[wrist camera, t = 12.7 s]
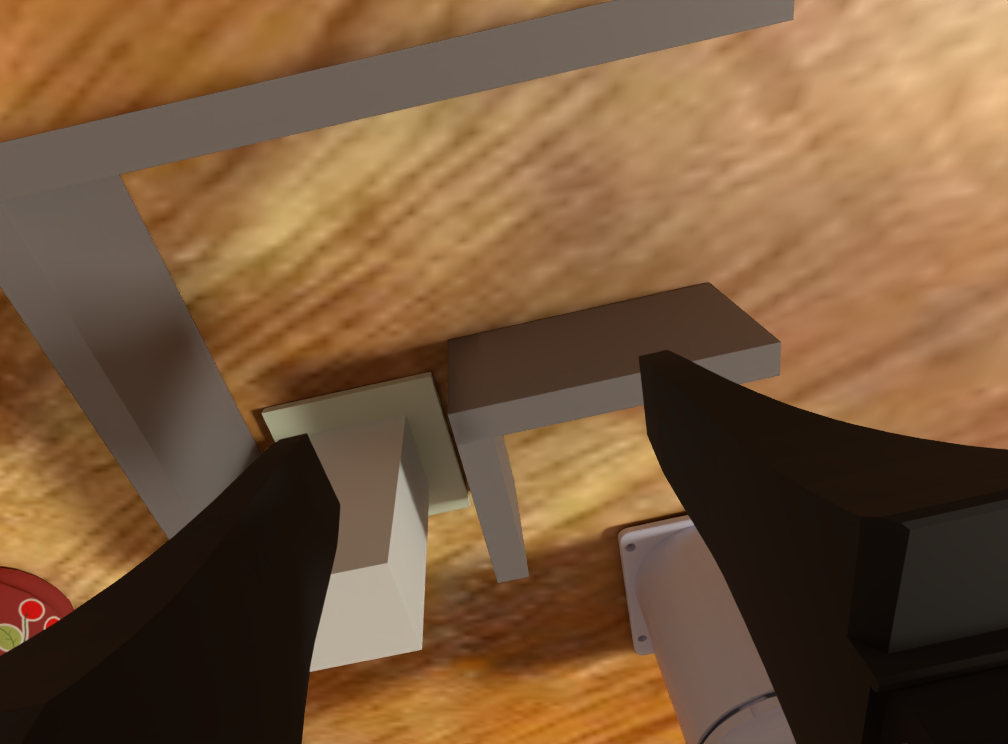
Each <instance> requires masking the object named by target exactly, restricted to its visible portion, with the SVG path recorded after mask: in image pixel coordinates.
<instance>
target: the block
mask: <svg viewBox="0 0 1008 744" xmlns="http://www.w3.org/2000/svg"><path fill="white" fill-rule="evenodd" d="M310 441H311V443H312V445H313V447H314V449H315V451H316V453H317V456H318V458H319V460H320V462H321V464H322V466H323V468H324V470H325V473H326V475H327V477H328V479H329V481H330V483H331V485H332V487H333V490H334V492H335V494H336V496H337V498H338V500H339V502H340V505H341V506H340V521H339V534H338V544H337V550H336V555H335V559H334V564H333V568H332V572H331V577H330V581H329V585H328V589H327V594H326V598H325V602H324V606H323V610H322V615H321V619H320V623H319V627H318V632H317V636H316V640H315V644H314V650H313V655H312V660H311V666H310V672H312V671H317V670H322V669H327V668H332V667H337V666H342V665H347V664H352V663H357V662H362V661H367V660H373V659H378V658H383V657H388V656H393V655H398V654H403V653H408V652H413V651H418V650H422V640H423V619H424V597H425V575H426V554H427V532H428V510H429V486H428V483H427V480H426V476H425V473H424V470H423V467H422V464H421V461H420V458H419V454H418V451H417V448H416V445H415V442H414V439H413V436H412V433H411V429H410V426H409V423H408V420H407V417H406V415H403V416H398V417H393V418H388V419H384V420H379V421H374V422H369V423H364V424H359V425H354V426H349V427H344V428H339V429H334V430H330V431H325V432H320V433H315V434H311V436H310Z"/></svg>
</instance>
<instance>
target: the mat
mask: <svg viewBox="0 0 1008 744" xmlns="http://www.w3.org/2000/svg"><path fill="white" fill-rule="evenodd" d="M261 414H262V416H263V418H264V420H265V422H266V424H267V426H268V428H269V430H270V432H271V434H272V436H273V438H274V441H275V442H277V441H278V440H279V439H283V438H288V437H292V436H296V435H301V434H305V433H307V434H308V436H309V438H310V436H311V434H315V433H320V432H325V431H330V430H334V429H339V428H344V427H349V426H354V425H359V424H364V423H369V422H374V421H379V420H384V419H388V418H393V417H398V416H403V415H406V417H407V420H408V423H409V426H410V429H411V433H412V436H413V439H414V442H415V445H416V448H417V451H418V454H419V458H420V461H421V464H422V467H423V470H424V473H425V476H426V480H427V483H428V486H429V510H428V516H429V515H434V514H438V513H443V512H448V511H452V510H457V509H462V508H466V507H470V499H469V495H468V492H467V489H466V485H465V482H464V479H463V475H462V472H461V469H460V465H459V462H458V459H457V455H456V452H455V449H454V445H453V442H452V439H451V436H450V432H449V429H448V426H447V422H446V419H445V416H444V412H443V409H442V406H441V402H440V399H439V396H438V392H437V389H436V386H435V382H434V379H433V376H432V373H431V372H427V373H422V374H418V375H413V376H409V377H404V378H400V379H395V380H390V381H386V382H381V383H377V384H372V385H368V386H363V387H359V388H354V389H350V390H345V391H340V392H336V393H331V394H327V395H322V396H318V397H313V398H309V399H304V400H299V401H295V402H290V403H286V404H281V405H277V406H272V407H268V408H264V409H263V411H262V413H261Z"/></svg>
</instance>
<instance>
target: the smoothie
mask: <svg viewBox="0 0 1008 744" xmlns="http://www.w3.org/2000/svg"><path fill="white" fill-rule="evenodd" d="M72 611H74V609H73V607H72V605H71V602H70V600H69V599H68V598H67V597H66V596H65V595H64V594H63V593H62V592H61V591H60V590H59V589H58V588H56V587H54V586H53V585H51V584H49V583H48V582H46V581H44V580H43V579H41V578H39V577H36V576H33V575H30V574H28V573H25V572H22V571H19V570H13V569H7V568H0V656H1V655H2V654H4V653H6V652H8V651H9V650H11V649H13V648H14V647H16V646H18V645H20V644H21V643H23V642H25V641H26V640H28V639H30V638H31V637H33V636H35V635H36V634H38V633H39V632H41V631H43V630H44V629H46V628H48V627H49V626H51V625H52V624H54V623H56V622H57V621H59V620H60V619H62V618H63V617H65V616H66V615H68V614H69V613H71V612H72Z"/></svg>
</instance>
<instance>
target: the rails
mask: <svg viewBox="0 0 1008 744" xmlns="http://www.w3.org/2000/svg"><path fill="white" fill-rule="evenodd" d="M793 14H794V0H614V1H610V2H606V3H601V4H597V5H593V6H588V7H584V8H580V9H576V10H571V11H567V12H563V13H558V14H554V15H550V16H545V17H541V18H537V19H532V20H528V21H524V22H519V23H515V24H511V25H506V26H502V27H498V28H494V29H489V30H485V31H481V32H476V33H472V34H468V35H463V36H459V37H455V38H450V39H446V40H442V41H437V42H433V43H429V44H425V45H420V46H416V47H412V48H407V49H403V50H399V51H394V52H390V53H386V54H381V55H377V56H373V57H368V58H364V59H360V60H356V61H351V62H347V63H343V64H338V65H334V66H330V67H325V68H321V69H317V70H312V71H308V72H304V73H299V74H295V75H291V76H286V77H282V78H278V79H274V80H269V81H265V82H261V83H256V84H252V85H248V86H243V87H239V88H235V89H230V90H226V91H222V92H217V93H213V94H209V95H205V96H200V97H196V98H192V99H187V100H183V101H179V102H174V103H170V104H166V105H161V106H157V107H153V108H148V109H144V110H140V111H136V112H131V113H127V114H123V115H118V116H114V117H110V118H105V119H101V120H97V121H92V122H88V123H84V124H79V125H75V126H71V127H66V128H62V129H58V130H54V131H49V132H45V133H41V134H36V135H32V136H28V137H23V138H19V139H15V140H10V141H6V142H2V143H0V287H1V288H2V290H3V291H4V293H5V294H6V296H7V297H8V299H9V300H10V302H11V303H12V305H13V306H14V308H15V309H16V311H17V312H18V314H19V315H20V317H21V318H22V320H23V321H24V323H25V324H26V326H27V327H28V329H29V330H30V332H31V333H32V335H33V336H34V338H35V339H36V341H37V342H38V344H39V345H40V347H41V348H42V350H43V351H44V353H45V354H46V356H47V357H48V359H49V360H50V362H51V363H52V365H53V366H54V368H55V369H56V371H57V372H58V374H59V375H60V377H61V378H62V380H63V381H64V383H65V384H66V386H67V387H68V389H69V390H70V392H71V393H72V395H73V396H74V398H75V399H76V401H77V402H78V404H79V405H80V407H81V408H82V410H83V411H84V413H85V414H86V416H87V417H88V419H89V420H90V422H91V423H92V425H93V426H94V428H95V429H96V431H97V432H98V434H99V435H100V437H101V438H102V440H103V441H104V443H105V444H106V446H107V447H108V449H109V450H110V452H111V453H112V455H113V456H114V458H115V459H116V461H117V462H118V464H119V465H120V467H121V468H122V470H123V471H124V473H125V474H126V476H127V477H128V479H129V480H130V482H131V483H132V485H133V486H134V488H135V489H136V491H137V492H138V494H139V495H140V497H141V498H142V500H143V501H144V503H145V504H146V506H147V507H148V509H149V510H150V512H151V513H152V515H153V516H154V518H155V519H156V521H157V522H158V524H159V525H160V527H161V528H162V530H163V531H164V533H165V534H166V536H167V537H168V539H169V540H170V539H171V538H172V537H174V536H175V535H176V534H177V533H178V532H179V531H180V530H181V529H182V528H184V527H185V526H186V525H187V524H188V523H189V522H190V521H191V520H192V519H194V518H195V517H196V516H197V515H198V514H199V513H200V512H201V511H203V510H204V509H205V508H206V507H207V506H208V505H209V504H210V503H211V502H212V501H214V500H215V499H216V498H217V497H218V496H219V495H220V494H221V493H222V492H223V491H224V490H225V489H226V488H227V487H228V486H229V485H230V484H231V483H232V482H233V481H234V480H235V479H236V478H237V477H239V476H240V475H241V474H242V473H243V472H244V471H245V470H246V469H247V468H248V467H249V466H250V465H251V464H252V463H253V462H254V461H255V460H256V459H257V458H258V457H259V456H260V455H261V453H260V451H259V449H258V447H257V445H256V443H255V441H254V439H253V437H252V435H251V433H250V431H249V429H248V427H247V425H246V423H245V421H244V419H243V417H242V415H241V414H240V412H239V410H238V408H237V406H236V404H235V402H234V400H233V398H232V396H231V394H230V392H229V390H228V388H227V386H226V384H225V382H224V380H223V378H222V376H221V374H220V372H219V370H218V368H217V366H216V364H215V362H214V360H213V358H212V356H211V354H210V352H209V351H208V349H207V347H206V345H205V343H204V341H203V339H202V337H201V335H200V333H199V331H198V329H197V327H196V325H195V323H194V321H193V319H192V317H191V315H190V313H189V311H188V309H187V307H186V305H185V303H184V301H183V299H182V297H181V295H180V293H179V291H178V290H177V288H176V286H175V284H174V282H173V280H172V278H171V276H170V274H169V272H168V270H167V268H166V266H165V264H164V262H163V260H162V258H161V256H160V254H159V252H158V250H157V248H156V246H155V244H154V242H153V240H152V238H151V236H150V234H149V232H148V230H147V228H146V227H145V225H144V223H143V221H142V219H141V217H140V215H139V213H138V211H137V209H136V207H135V205H134V203H133V201H132V199H131V197H130V195H129V193H128V191H127V189H126V187H125V185H124V183H123V181H122V179H121V177H120V175H119V174H124V173H128V172H132V171H137V170H141V169H145V168H150V167H154V166H159V165H163V164H167V163H172V162H176V161H180V160H185V159H189V158H193V157H198V156H202V155H206V154H211V153H215V152H219V151H224V150H228V149H233V148H237V147H241V146H246V145H250V144H254V143H259V142H263V141H267V140H272V139H276V138H280V137H285V136H289V135H294V134H298V133H302V132H307V131H311V130H315V129H320V128H324V127H328V126H333V125H337V124H341V123H346V122H350V121H355V120H359V119H363V118H368V117H372V116H376V115H381V114H385V113H389V112H394V111H398V110H402V109H407V108H411V107H415V106H420V105H424V104H429V103H433V102H437V101H442V100H446V99H450V98H455V97H459V96H463V95H468V94H472V93H476V92H481V91H485V90H490V89H494V88H498V87H503V86H507V85H511V84H516V83H520V82H524V81H529V80H533V79H537V78H542V77H546V76H550V75H555V74H559V73H564V72H568V71H572V70H577V69H581V68H585V67H590V66H594V65H598V64H603V63H607V62H611V61H616V60H620V59H625V58H629V57H633V56H638V55H642V54H646V53H651V52H655V51H659V50H664V49H668V48H672V47H677V46H681V45H686V44H690V43H694V42H699V41H703V40H707V39H712V38H716V37H720V36H725V35H729V34H733V33H738V32H742V31H746V30H751V29H755V28H760V27H764V26H768V25H773V24H777V23H781V22H786V21H790V20H793ZM663 350H669V351H671V352H674V353H676V354H678V355H680V356H682V357H684V358H686V359H688V360H690V361H692V362H694V363H696V364H698V365H700V366H702V367H704V368H706V369H708V370H710V371H712V372H714V373H716V374H718V375H720V376H722V377H724V378H726V379H728V380H730V381H732V382H735V383H737V384H742V383H747V382H751V381H756V380H761V379H765V378H770V377H774V376H779V375H780V356H781V342H780V341H779V340H778V339H777V338H776V337H774V336H773V335H772V334H771V333H770V332H768V331H767V330H766V329H765V328H764V327H762V326H761V325H760V324H759V323H758V322H756V321H755V320H754V319H753V318H752V317H750V316H749V315H748V314H747V313H746V312H744V311H743V310H742V309H741V308H740V307H738V306H737V305H736V304H735V303H734V302H732V301H731V300H730V299H729V298H727V297H726V296H725V295H724V294H723V293H721V292H720V291H719V290H718V289H717V288H715V287H714V286H713V285H712V284H711V283H705V284H700V285H696V286H691V287H686V288H682V289H677V290H673V291H668V292H664V293H659V294H655V295H650V296H646V297H641V298H637V299H632V300H628V301H623V302H618V303H614V304H609V305H605V306H600V307H596V308H591V309H587V310H582V311H578V312H573V313H569V314H564V315H560V316H555V317H551V318H546V319H541V320H537V321H532V322H528V323H523V324H519V325H514V326H510V327H505V328H501V329H496V330H492V331H487V332H483V333H478V334H474V335H469V336H464V337H460V338H455V339H451V340H448V417H449V421H450V424H451V427H452V431H453V434H454V437H455V441H456V444H457V447H458V451H459V454H460V458H461V461H462V464H463V468H464V471H465V474H466V478H467V481H468V484H469V488H470V491H471V494H472V498H473V501H474V504H475V508H476V511H477V515H478V518H479V521H480V525H481V528H482V531H483V535H484V538H485V541H486V545H487V548H488V551H489V555H490V558H491V562H492V565H493V568H494V572H495V575H496V578H497V582H498V583H501V582H506V581H511V580H515V579H520V578H525V577H529V572H528V566H527V559H526V553H525V546H524V540H523V534H522V527H521V521H520V515H519V508H518V502H517V496H516V489H515V483H514V479H513V475H512V471H511V467H510V463H509V459H508V454H507V450H506V446H505V442H504V438H503V435H507V434H511V433H516V432H521V431H525V430H530V429H535V428H539V427H544V426H548V425H553V424H558V423H562V422H567V421H571V420H576V419H581V418H585V417H590V416H594V415H599V414H604V413H608V412H613V411H618V410H622V409H627V408H631V407H636V406H641V405H644V401H643V392H642V383H641V374H640V365H639V356H642V355H646V354H650V353H655V352H659V351H663Z"/></svg>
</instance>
